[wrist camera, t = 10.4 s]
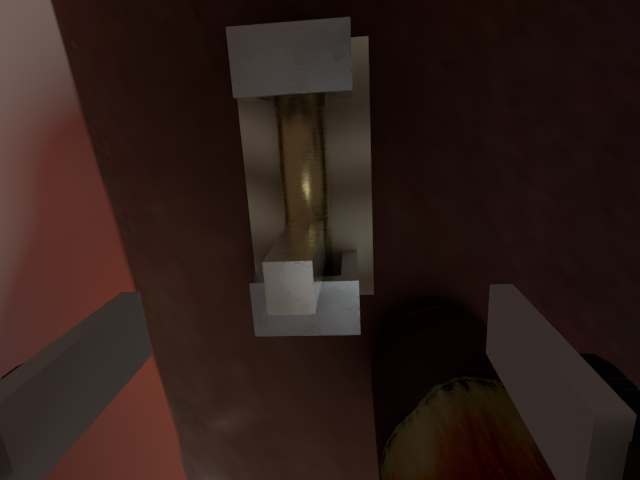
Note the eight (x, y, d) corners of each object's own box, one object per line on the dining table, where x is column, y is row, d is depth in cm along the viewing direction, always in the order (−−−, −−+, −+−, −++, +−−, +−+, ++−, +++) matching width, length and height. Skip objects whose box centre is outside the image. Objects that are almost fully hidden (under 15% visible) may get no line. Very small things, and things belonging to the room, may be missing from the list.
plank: (236, 49, 31) (231, 46, 30) (367, 39, 30) (368, 36, 29) (261, 291, 36) (258, 297, 35) (373, 289, 35) (373, 294, 34)
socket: (268, 253, 34) (249, 283, 27) (357, 250, 33) (358, 280, 27) (272, 297, 35) (255, 336, 28) (358, 295, 34) (360, 334, 28)
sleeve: (248, 45, 30) (225, 26, 24) (350, 37, 29) (350, 16, 23) (254, 102, 31) (233, 97, 25) (351, 96, 30) (352, 90, 24)
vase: (452, 269, 34) (726, 654, 9) (515, 365, 36) (877, 890, 11) (345, 332, 37) (335, 775, 12) (409, 419, 39) (519, 953, 14)
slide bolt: (274, 51, 29) (225, 4, 18) (323, 48, 29) (306, -3, 17) (292, 282, 34) (263, 364, 23) (335, 281, 34) (327, 363, 22)
